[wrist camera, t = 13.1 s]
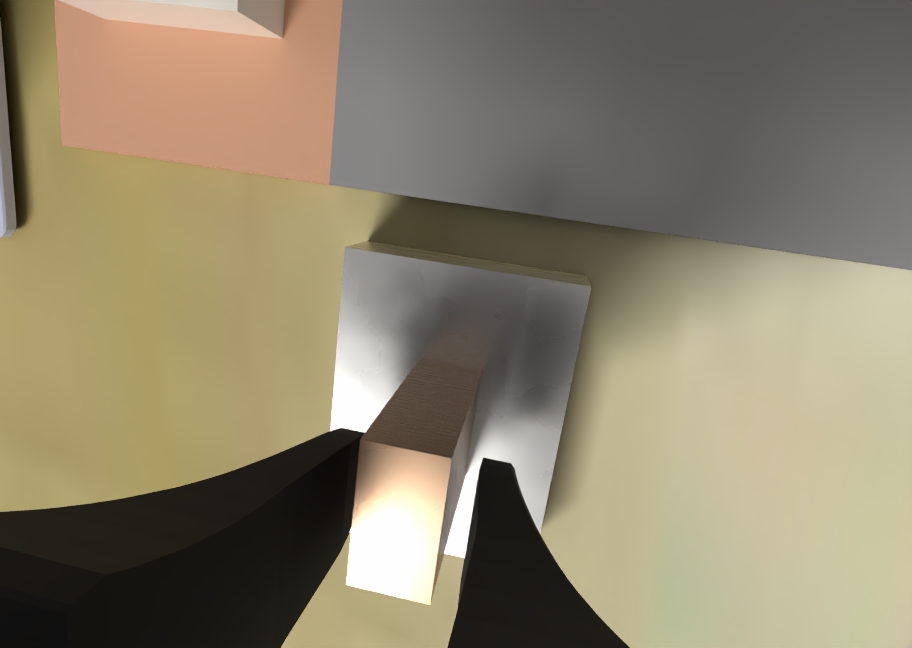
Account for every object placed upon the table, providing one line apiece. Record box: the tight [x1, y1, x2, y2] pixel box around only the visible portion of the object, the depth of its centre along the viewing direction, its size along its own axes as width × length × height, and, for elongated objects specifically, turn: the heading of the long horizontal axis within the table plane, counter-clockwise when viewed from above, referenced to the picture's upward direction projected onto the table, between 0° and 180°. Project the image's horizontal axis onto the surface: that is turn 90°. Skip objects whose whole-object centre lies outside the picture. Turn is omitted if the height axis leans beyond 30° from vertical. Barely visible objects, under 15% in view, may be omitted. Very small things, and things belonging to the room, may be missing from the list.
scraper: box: [330, 241, 591, 605], centre depth 12 cm, size 6×8×6 cm
